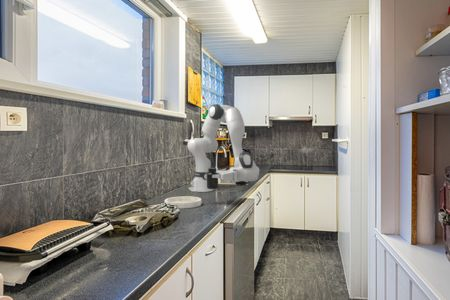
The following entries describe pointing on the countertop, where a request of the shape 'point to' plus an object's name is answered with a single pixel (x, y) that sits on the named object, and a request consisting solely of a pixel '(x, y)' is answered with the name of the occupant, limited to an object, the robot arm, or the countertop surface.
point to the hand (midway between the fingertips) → (210, 175)
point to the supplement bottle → (212, 179)
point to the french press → (241, 183)
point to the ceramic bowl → (184, 201)
